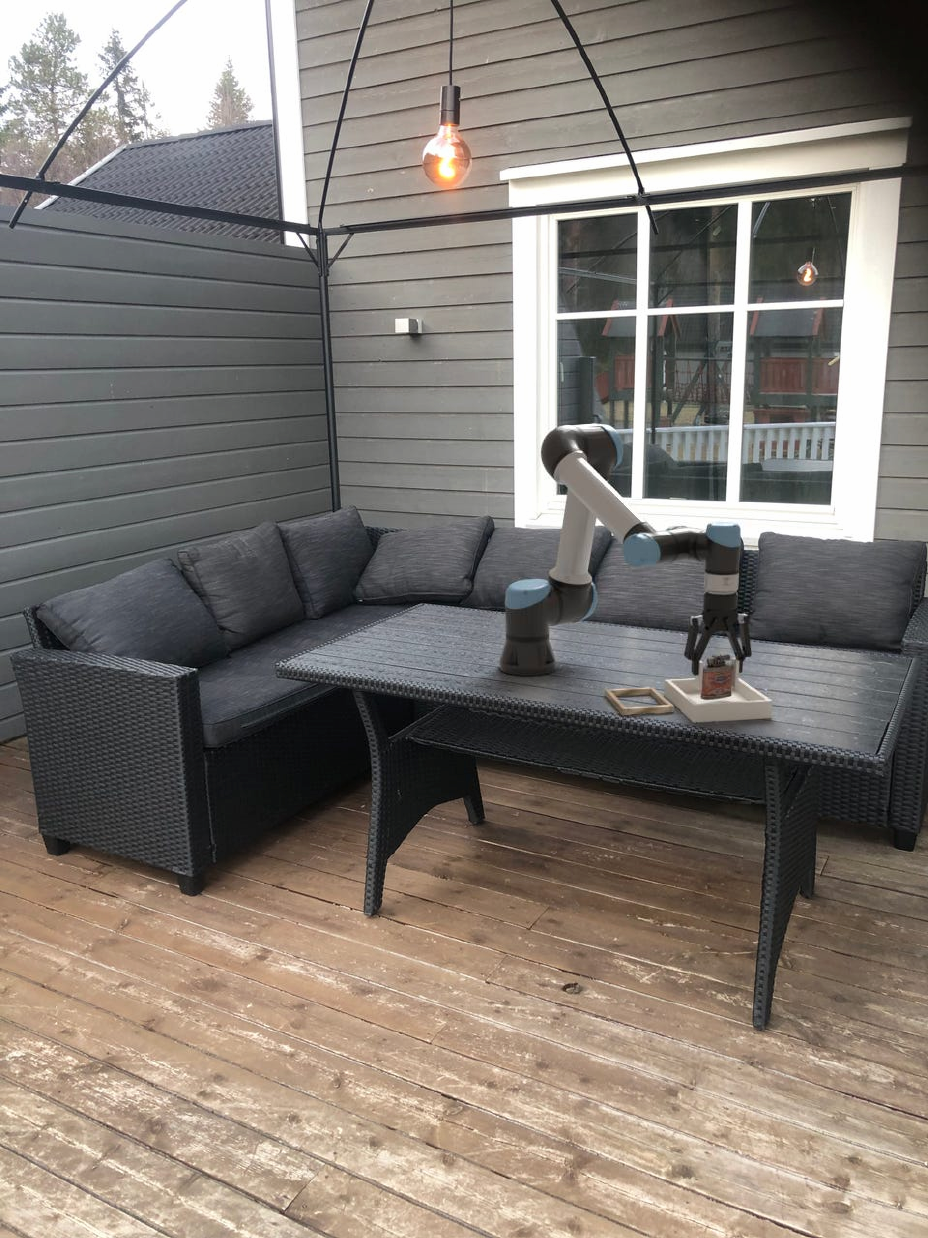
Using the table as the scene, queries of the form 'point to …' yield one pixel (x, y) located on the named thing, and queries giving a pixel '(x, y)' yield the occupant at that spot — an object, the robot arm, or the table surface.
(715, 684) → the lighter
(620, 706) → the holder
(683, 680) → the tray
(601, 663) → the table surface
